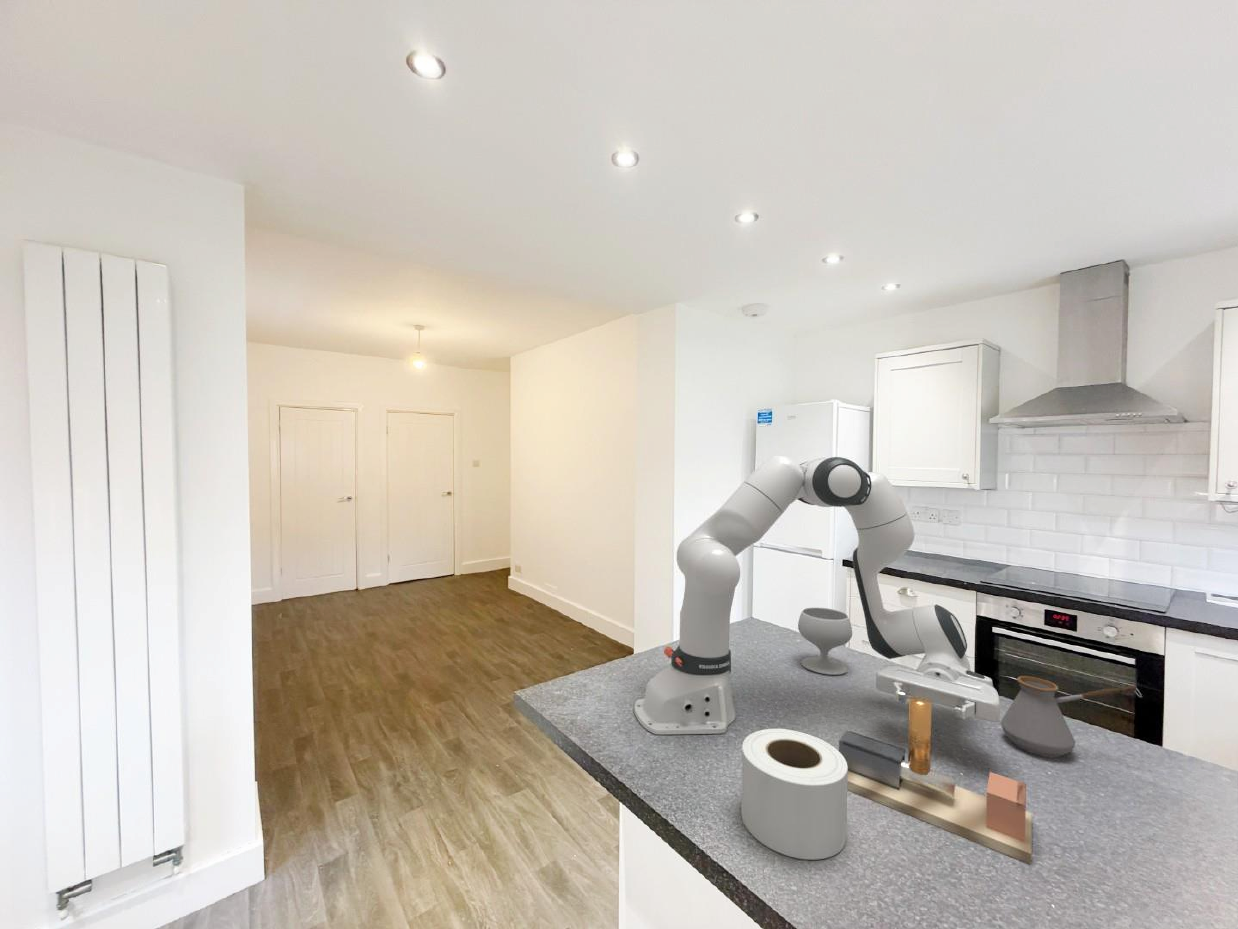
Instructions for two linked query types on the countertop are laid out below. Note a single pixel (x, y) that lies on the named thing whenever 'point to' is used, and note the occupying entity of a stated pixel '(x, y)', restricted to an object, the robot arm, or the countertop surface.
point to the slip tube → (923, 752)
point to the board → (945, 812)
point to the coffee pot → (1044, 717)
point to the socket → (1006, 806)
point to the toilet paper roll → (794, 793)
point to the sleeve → (872, 758)
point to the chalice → (825, 637)
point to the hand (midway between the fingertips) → (929, 705)
